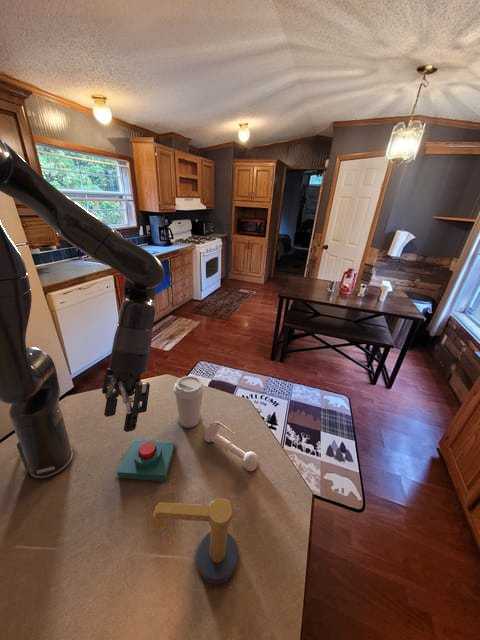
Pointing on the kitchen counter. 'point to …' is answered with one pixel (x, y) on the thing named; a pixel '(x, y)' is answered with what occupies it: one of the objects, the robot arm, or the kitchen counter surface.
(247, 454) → the faucet
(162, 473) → the control block
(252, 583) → the kitchen counter surface
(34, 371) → the robot arm
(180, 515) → the spout
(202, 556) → the tap base
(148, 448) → the button
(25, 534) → the kitchen counter surface
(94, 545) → the kitchen counter surface
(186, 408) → the coffee cup
